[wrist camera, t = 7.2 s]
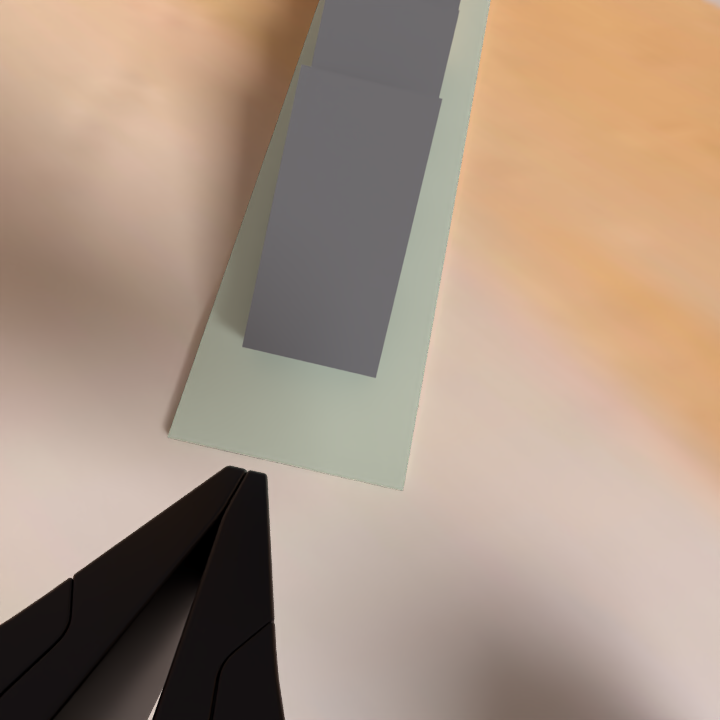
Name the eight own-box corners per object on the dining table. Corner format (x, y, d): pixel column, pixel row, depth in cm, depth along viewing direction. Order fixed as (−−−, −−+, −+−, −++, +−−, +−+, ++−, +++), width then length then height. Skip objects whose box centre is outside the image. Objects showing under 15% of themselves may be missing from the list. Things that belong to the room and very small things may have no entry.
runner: (401, 490, 16) (403, 490, 16) (170, 438, 16) (167, 437, 16) (495, -33, 25) (497, -39, 25) (345, -70, 25) (345, -77, 25)
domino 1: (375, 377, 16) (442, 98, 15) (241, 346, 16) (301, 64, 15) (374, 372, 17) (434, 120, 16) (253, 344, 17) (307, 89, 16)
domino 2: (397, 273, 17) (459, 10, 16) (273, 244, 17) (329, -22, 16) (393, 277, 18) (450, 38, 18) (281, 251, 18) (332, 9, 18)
